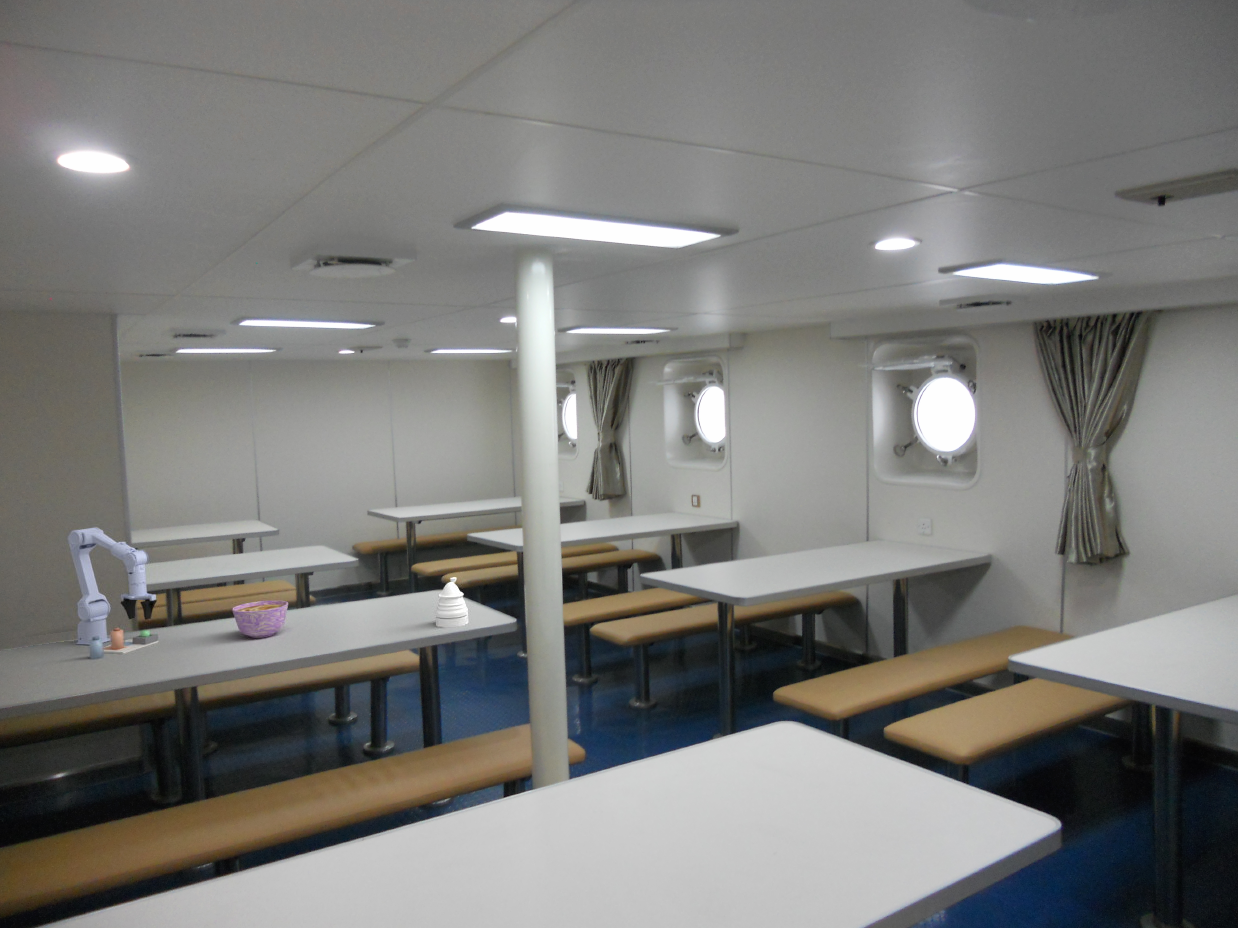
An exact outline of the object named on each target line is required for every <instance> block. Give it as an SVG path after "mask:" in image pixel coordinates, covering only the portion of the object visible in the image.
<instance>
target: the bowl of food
mask: <svg viewBox="0 0 1238 928" xmlns="http://www.w3.org/2000/svg"><path fill="white" fill-rule="evenodd" d="M288 606H289V602H288V601H285V600H260V601H252V602H248V603H242V604H239V605H237V606H234V607H232V613H233V616H234V619H235V623H236V625H237V628H238V630H239V631H240V632H241V634H243V635H246V636H248V637H250V638H251V639H260V638H267V637H271V636H273V635H274V633H277V632H279V630H281V629H282V628H283V626H284V625H285V622H286V619H287V618H286V617H287V611H288Z"/></svg>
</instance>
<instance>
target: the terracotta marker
mask: <svg viewBox="0 0 1238 928" xmlns="http://www.w3.org/2000/svg"><path fill="white" fill-rule="evenodd" d="M110 638H111V640H110V645H111V649H112V650H115V649H122V648H124V641H125V640H124V639H125V638H124V630H123V629H121V628H120V627H118V626H117V627H113V630H110Z"/></svg>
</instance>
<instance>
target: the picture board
mask: <svg viewBox="0 0 1238 928" xmlns="http://www.w3.org/2000/svg"><path fill="white" fill-rule="evenodd" d="M131 638H132V639H130V638H129V639H126V640H124V648H122V649H115V650H112V649H111V644H109V645H106V646H103V654H104V653H105V654H128V653H129V652H133V651H135V650H138V649H142V648H145V647H148V646H151V645H154V644H157V643H159V640H160V639H159V634H158V633H157V634H156V633H150V636H148V637H141V634H140V635H136V636H134V637H131Z"/></svg>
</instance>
